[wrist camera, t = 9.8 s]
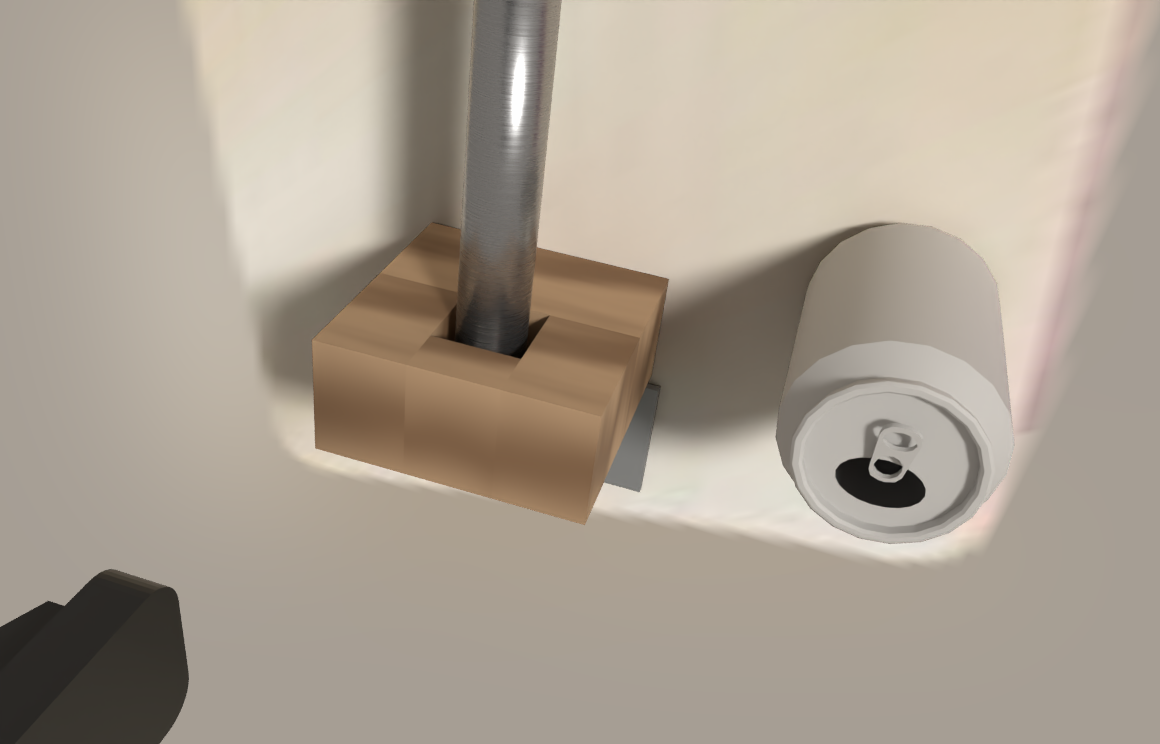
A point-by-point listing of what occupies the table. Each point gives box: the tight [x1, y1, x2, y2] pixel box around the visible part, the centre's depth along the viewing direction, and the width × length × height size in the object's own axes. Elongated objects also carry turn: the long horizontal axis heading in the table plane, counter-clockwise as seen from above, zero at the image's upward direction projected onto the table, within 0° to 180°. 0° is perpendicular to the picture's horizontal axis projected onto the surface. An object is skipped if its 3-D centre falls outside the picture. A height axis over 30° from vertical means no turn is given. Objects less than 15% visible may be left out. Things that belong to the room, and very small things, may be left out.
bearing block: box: [312, 223, 669, 525], centre depth 43 cm, size 5×11×11 cm, turn 83°
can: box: [776, 223, 1014, 544], centre depth 38 cm, size 8×8×12 cm
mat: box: [604, 384, 660, 492], centre depth 51 cm, size 6×12×1 cm, turn 83°
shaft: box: [455, 0, 562, 359], centre depth 37 cm, size 20×4×4 cm, turn 173°
